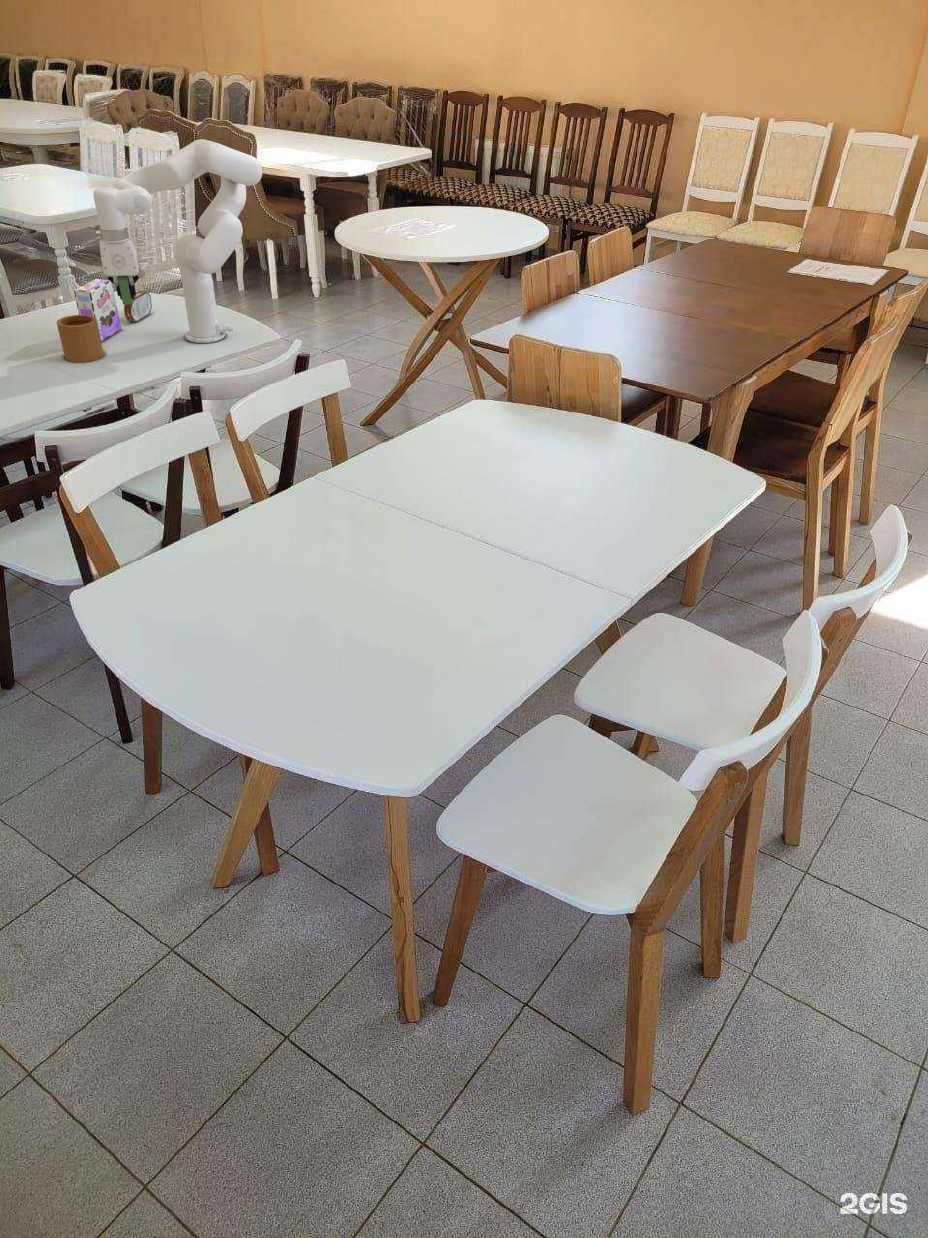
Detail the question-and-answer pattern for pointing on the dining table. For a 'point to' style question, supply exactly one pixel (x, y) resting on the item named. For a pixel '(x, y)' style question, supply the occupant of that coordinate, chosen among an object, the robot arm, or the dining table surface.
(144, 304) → the tin
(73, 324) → the jar
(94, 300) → the candy box
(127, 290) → the block
